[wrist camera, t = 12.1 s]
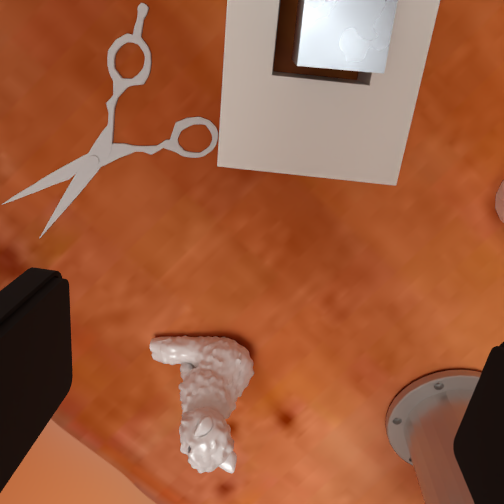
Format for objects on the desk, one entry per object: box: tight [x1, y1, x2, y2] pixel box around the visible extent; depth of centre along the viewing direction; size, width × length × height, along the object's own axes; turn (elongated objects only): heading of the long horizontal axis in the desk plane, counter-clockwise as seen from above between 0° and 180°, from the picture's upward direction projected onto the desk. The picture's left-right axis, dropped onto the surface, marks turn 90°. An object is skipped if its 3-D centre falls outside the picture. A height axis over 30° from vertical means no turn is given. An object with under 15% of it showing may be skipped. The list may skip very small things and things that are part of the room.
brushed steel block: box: [292, 0, 398, 73], centre depth 25 cm, size 4×6×12 cm, turn 176°
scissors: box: [2, 3, 218, 239], centre depth 35 cm, size 11×1×20 cm
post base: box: [217, 0, 440, 186], centre depth 28 cm, size 12×20×5 cm, turn 175°
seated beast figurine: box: [150, 335, 254, 473], centre depth 37 cm, size 10×9×12 cm
